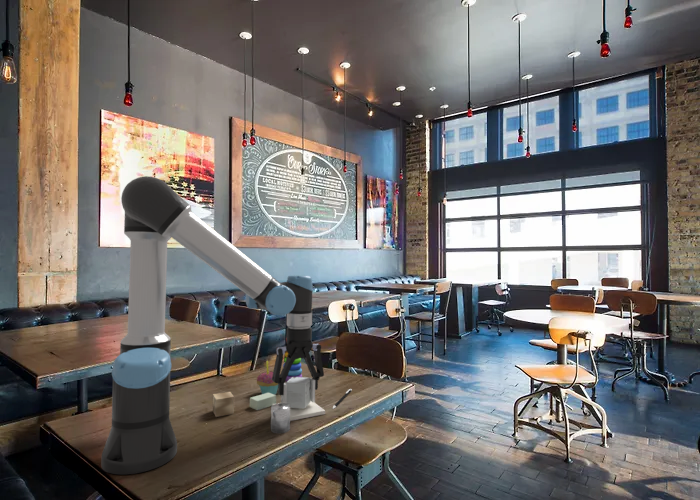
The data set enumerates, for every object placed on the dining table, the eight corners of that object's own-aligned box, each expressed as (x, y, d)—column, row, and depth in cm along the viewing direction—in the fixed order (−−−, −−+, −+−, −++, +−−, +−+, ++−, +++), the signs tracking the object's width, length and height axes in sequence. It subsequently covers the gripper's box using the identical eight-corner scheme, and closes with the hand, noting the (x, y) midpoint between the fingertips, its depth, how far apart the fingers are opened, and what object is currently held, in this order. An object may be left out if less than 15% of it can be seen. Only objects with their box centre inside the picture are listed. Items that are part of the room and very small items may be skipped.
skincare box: (305, 409, 116) (305, 383, 117) (284, 407, 117) (285, 382, 118) (310, 402, 122) (311, 377, 123) (291, 400, 123) (291, 376, 124)
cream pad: (286, 421, 112) (286, 418, 112) (272, 407, 122) (272, 404, 122) (325, 414, 118) (325, 410, 118) (308, 401, 128) (308, 398, 128)
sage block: (257, 411, 120) (257, 401, 120) (249, 407, 123) (249, 397, 123) (276, 405, 125) (276, 395, 125) (268, 401, 128) (268, 392, 128)
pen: (352, 390, 140) (352, 387, 140) (334, 410, 121) (334, 406, 121) (350, 390, 140) (350, 387, 140) (331, 410, 122) (331, 406, 122)
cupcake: (275, 398, 130) (276, 361, 130) (251, 396, 132) (252, 359, 132) (285, 390, 138) (285, 355, 139) (262, 388, 140) (262, 353, 140)
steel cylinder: (274, 434, 103) (274, 411, 104) (268, 427, 108) (268, 405, 108) (292, 431, 106) (292, 408, 106) (286, 424, 110) (286, 402, 110)
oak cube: (215, 417, 115) (216, 399, 115) (212, 411, 119) (213, 394, 119) (233, 414, 117) (233, 396, 117) (229, 408, 122) (230, 391, 122)
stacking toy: (301, 388, 140) (302, 334, 141) (278, 388, 140) (279, 334, 141) (304, 381, 148) (304, 330, 149) (282, 381, 148) (283, 330, 149)
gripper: (268, 331, 112) (267, 413, 112) (336, 326, 122) (335, 401, 122) (261, 327, 119) (259, 404, 118) (325, 322, 129) (324, 394, 128)
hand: (298, 403), depth 120 cm, fingers open, 8 cm apart
